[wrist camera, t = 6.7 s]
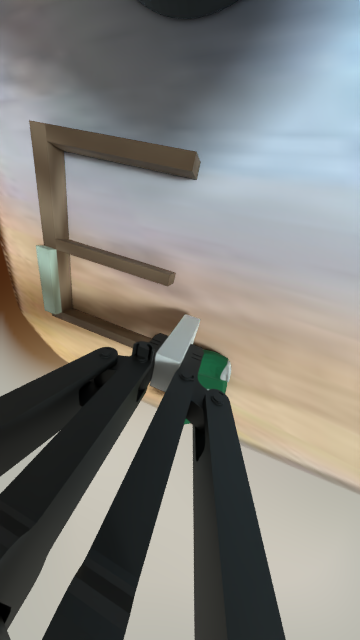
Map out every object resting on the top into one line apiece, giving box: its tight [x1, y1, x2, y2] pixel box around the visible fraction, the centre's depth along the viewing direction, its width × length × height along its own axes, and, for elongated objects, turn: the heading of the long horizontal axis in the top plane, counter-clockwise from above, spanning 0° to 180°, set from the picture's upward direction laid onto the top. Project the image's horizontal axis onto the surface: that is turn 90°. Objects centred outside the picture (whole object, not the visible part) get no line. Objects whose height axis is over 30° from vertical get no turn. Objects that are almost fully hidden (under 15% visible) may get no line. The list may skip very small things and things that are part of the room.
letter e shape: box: [29, 120, 201, 348], centre depth 16 cm, size 17×14×2 cm
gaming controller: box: [184, 349, 231, 424], centre depth 18 cm, size 9×4×6 cm
